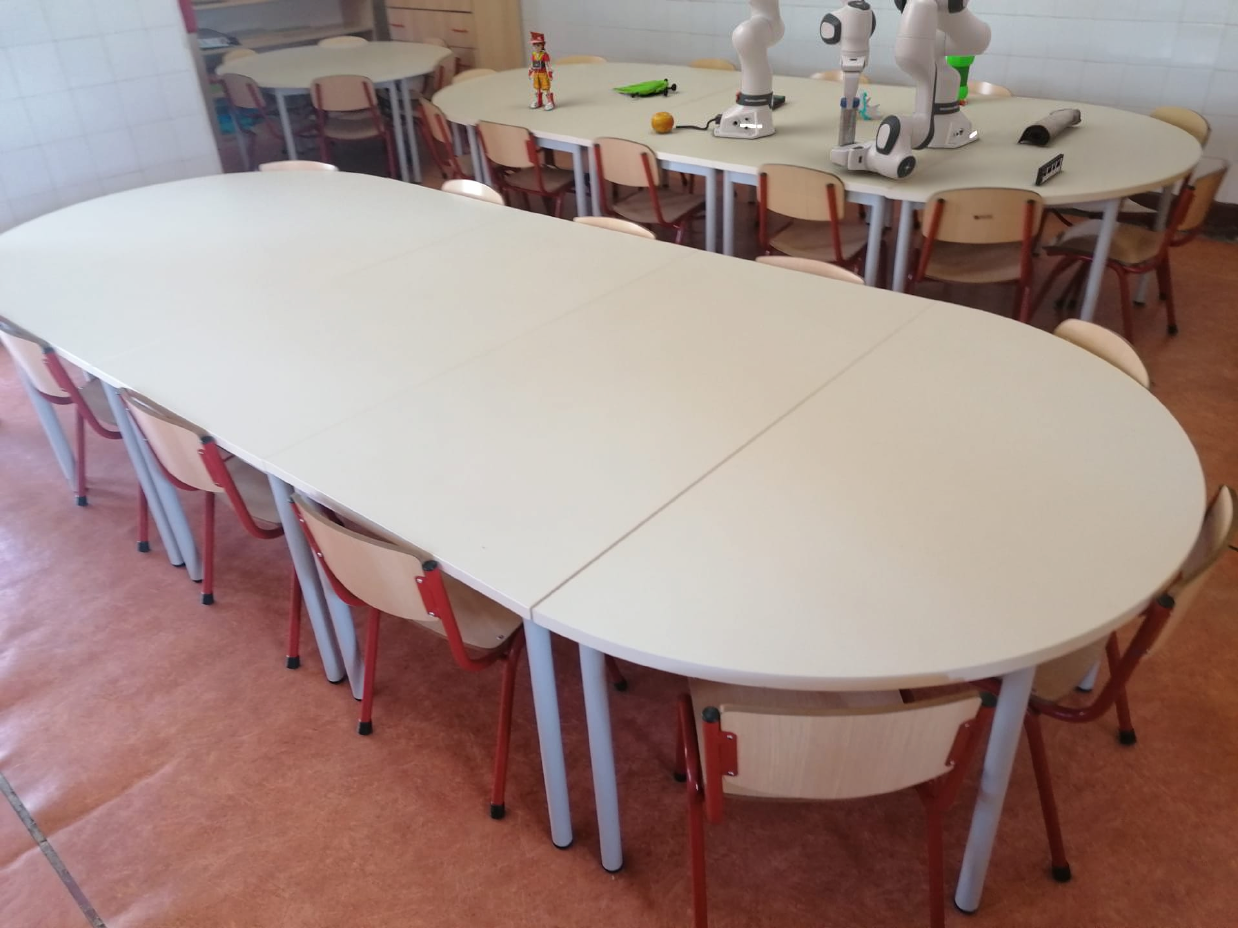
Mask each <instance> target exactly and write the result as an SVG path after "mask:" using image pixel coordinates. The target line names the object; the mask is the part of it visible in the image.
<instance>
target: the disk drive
mask: <svg viewBox="0 0 1238 928" xmlns="http://www.w3.org/2000/svg"><path fill="white" fill-rule="evenodd" d="M785 103H786V95H779V94H778V95H777V94H773V106H772V110H774V109H776V108H778V107H779V106H781V105H783V104H785Z"/></svg>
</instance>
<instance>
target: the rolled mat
mask: <svg viewBox="0 0 1238 928" xmlns="http://www.w3.org/2000/svg"><path fill="white" fill-rule="evenodd" d="M1081 116H1082V114H1081V110H1080V109H1079V108H1072V107H1070V108H1064V109H1063V108H1062V109H1055V110H1053V111H1051V112H1050V113H1049V115H1047V116H1045V117H1043V118H1041V119H1039V120H1037V121H1036V122H1034V123H1033V124H1031V125H1029V126H1027V127H1025V128H1024V130H1023V132H1022V133H1021V136H1020V137H1019V139H1018V141H1017V143H1018V144H1021V143H1023V142H1029V143H1030V144H1032V145H1033V146H1039V147H1045V146H1047V145H1048V144H1050V143H1051V141H1053V140H1054V138H1056V136H1057V135H1058V134H1060V133H1061V132H1062V131H1064V130H1065V129H1066V128H1067V127H1070V126H1077V125H1079V124H1080V123H1081V122H1082V118H1081Z"/></svg>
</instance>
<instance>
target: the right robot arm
mask: <svg viewBox="0 0 1238 928" xmlns="http://www.w3.org/2000/svg"><path fill="white" fill-rule="evenodd" d="M893 1H894V5H895V7H896V8H897V10H898V11H900V15H901V17H900V18H899V19H900V20H899V23H898V26H897V31H896V36H895V41H894V47H893V58H894V61H895V64H896V65H897V66H898V68H900V70H902V71H903V72H905V73H906V74H908V75H909V76H910V78H912V80H913V81H914V84H915V98H914V111H913V114H912V115H902V114H901V115H900V114H894V115H893V114H889V115H888V116H886V117H885V118H884V119H883V120H882V121H881V122H880V124H879V126H878V129H877V132H876V137H875V139H870V140H866V141H855V143H854V144H852V145H847V146H843V147H842V146H841V145H838V144H835V145H834V148H831V149H830V154H829V159H830V162H832V163H835V164H836V165H838V164H839V165H838V166H841V167H847V169H848V170H849V171H871V172H873V173H878V174H880V175H882V176H884V177H887V178H892V179H896V180H897V179H905V178H906V177H908V176H909V175H910V174H912V172H913V171H914V169H915V167H916V165H917V159H916V157H915V155H914V153H913V151H922V150H925V149H926V148H934V149H935V148H936V149H937V148H939V149H940V148H941V149H942V148H944V149H955V148H958V147H959V148H960V147H961V146H964V145H967V144H970V143H972V142H975V141H978V135H977V131H974V132H973V131H972V130H973V124H972V120H971V119H970V118H969V117H968V116H966V115H965V114H964V113H963V112H962V111H961V107H965V106H967V103H968V102H967V100H966V99H964V100H962V99H961V100H958V93H959V87H960V81H961V77H960V74H959V72H958V71H957V70H956V69H955V68H953V67H951V66H950V65H949V64H948V63H947V56H959V57H968V56H975V57H976V56H981V55H982V54H983V53H985V51H986V50H987V49H988V47H989V46H990V44H991V40H992V30H991V27H990V25H989V23H988V22H986V21H985V20H982V19H980V18H978V17H977V16H975V15H974V14H973V13H972V11H970V10H969V8H968V7H967V6H968V3H969V1H970V0H893Z"/></svg>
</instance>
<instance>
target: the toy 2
mask: <svg viewBox="0 0 1238 928" xmlns="http://www.w3.org/2000/svg"><path fill="white" fill-rule="evenodd" d="M669 85H670V83H669V79H668V78H664V79H663V80H649V81H644V82H640V83H634V84H629V85H627V86H621V87H613V88H612V89H613V90H616V91H619V92H623V93H627V94H628V93H629V94H631V95H630V96H631V98H632V99H634V98H636V96H637V95H650V94H652V93H654V94H658V93H662V95H663V96H665V97H667V96H668V95H669V90H671V91H672V92H676V91H677V84H676V83H672V84H671V86H669Z"/></svg>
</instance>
